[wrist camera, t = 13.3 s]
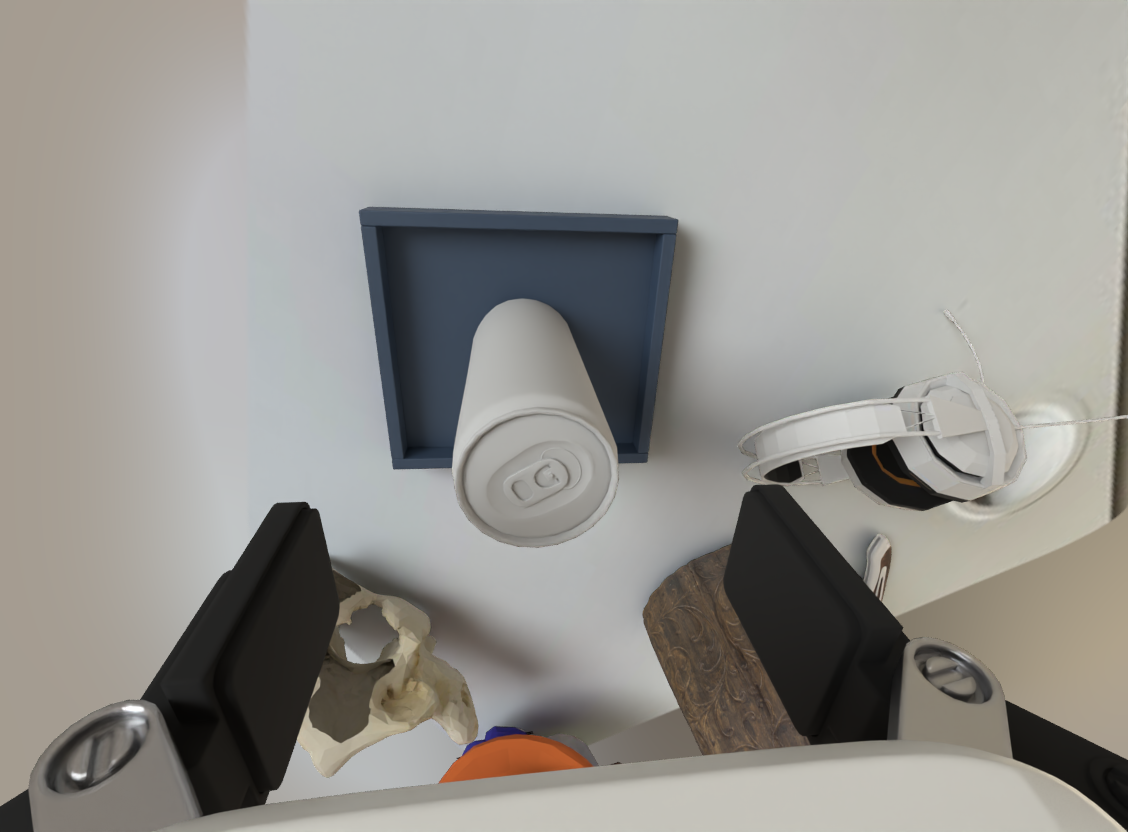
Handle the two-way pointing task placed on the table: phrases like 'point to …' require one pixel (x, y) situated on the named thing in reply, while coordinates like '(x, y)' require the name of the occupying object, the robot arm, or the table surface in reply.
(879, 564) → the pocket knife
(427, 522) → the table surface
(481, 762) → the toy
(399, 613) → the decorative object
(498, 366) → the beverage can
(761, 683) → the statue
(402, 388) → the tray
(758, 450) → the headphones
